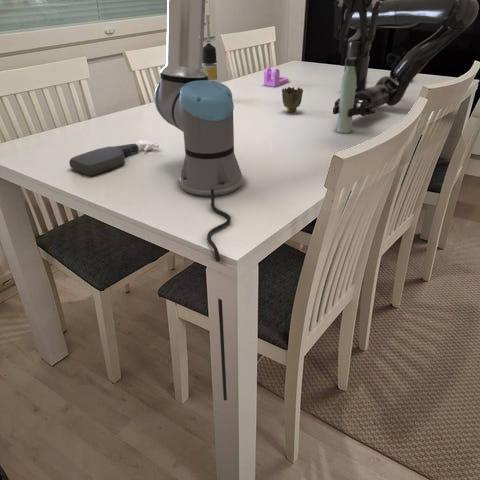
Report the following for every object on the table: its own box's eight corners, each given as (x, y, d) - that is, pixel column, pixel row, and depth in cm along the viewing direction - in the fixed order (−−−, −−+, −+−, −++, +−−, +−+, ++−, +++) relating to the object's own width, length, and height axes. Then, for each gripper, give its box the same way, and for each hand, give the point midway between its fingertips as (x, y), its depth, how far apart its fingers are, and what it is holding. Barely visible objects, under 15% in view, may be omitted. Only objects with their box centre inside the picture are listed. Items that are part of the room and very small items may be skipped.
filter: (220, 99, 177) (217, 15, 161) (206, 100, 176) (202, 16, 160) (215, 96, 182) (212, 14, 166) (202, 97, 180) (197, 14, 164)
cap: (359, 64, 133) (359, 57, 132) (356, 66, 130) (357, 59, 129) (345, 63, 134) (346, 56, 133) (342, 66, 131) (343, 59, 130)
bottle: (335, 132, 142) (342, 61, 130) (338, 128, 145) (346, 58, 134) (348, 134, 140) (356, 62, 129) (352, 129, 143) (360, 59, 132)
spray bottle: (67, 168, 120) (139, 144, 136) (91, 178, 114) (163, 151, 130) (65, 157, 118) (137, 134, 134) (89, 167, 112) (162, 142, 128)
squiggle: (400, 92, 202) (376, 71, 205) (417, 76, 202) (392, 56, 205) (405, 81, 191) (380, 59, 194) (423, 64, 191) (397, 42, 194)
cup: (277, 113, 160) (278, 90, 155) (285, 108, 165) (286, 85, 161) (297, 115, 157) (298, 92, 152) (304, 110, 162) (306, 87, 158)
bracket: (274, 86, 193) (275, 69, 190) (264, 85, 196) (264, 68, 193) (290, 81, 202) (291, 64, 198) (279, 79, 205) (280, 63, 201)
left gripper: (325, -26, 121) (319, 65, 133) (388, -27, 113) (375, 70, 125) (335, -27, 126) (328, 60, 138) (396, -28, 118) (382, 65, 131)
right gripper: (349, 86, 150) (322, 96, 139) (389, 92, 142) (364, 103, 131) (346, 108, 154) (320, 120, 143) (385, 115, 146) (361, 128, 135)
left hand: (350, 65), depth 132 cm, fingers closed on cap, 4 cm apart
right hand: (341, 112), depth 137 cm, fingers closed on bottle, 4 cm apart
